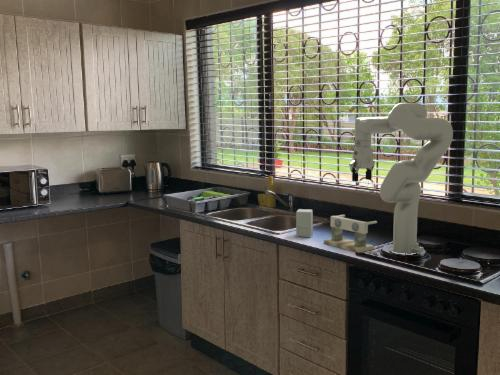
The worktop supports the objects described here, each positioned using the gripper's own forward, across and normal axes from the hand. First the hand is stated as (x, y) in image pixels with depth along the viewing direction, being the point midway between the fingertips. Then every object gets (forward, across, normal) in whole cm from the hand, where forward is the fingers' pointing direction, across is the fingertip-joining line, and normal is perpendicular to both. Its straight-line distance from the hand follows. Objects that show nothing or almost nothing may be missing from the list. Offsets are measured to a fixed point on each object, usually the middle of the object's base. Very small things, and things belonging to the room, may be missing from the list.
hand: (361, 180), depth 236 cm
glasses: (+20, -14, -7) cm, 25 cm away
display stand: (+28, -17, -7) cm, 33 cm away
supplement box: (+28, -17, +21) cm, 39 cm away
